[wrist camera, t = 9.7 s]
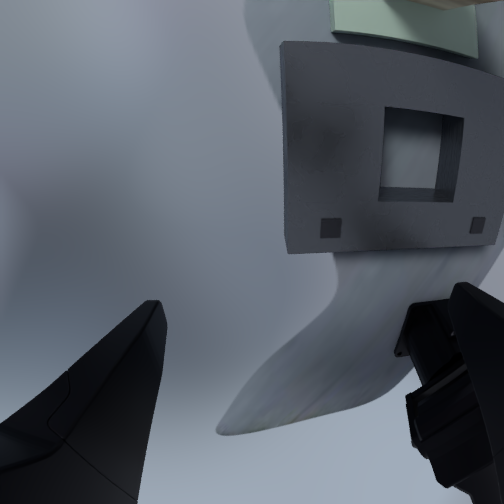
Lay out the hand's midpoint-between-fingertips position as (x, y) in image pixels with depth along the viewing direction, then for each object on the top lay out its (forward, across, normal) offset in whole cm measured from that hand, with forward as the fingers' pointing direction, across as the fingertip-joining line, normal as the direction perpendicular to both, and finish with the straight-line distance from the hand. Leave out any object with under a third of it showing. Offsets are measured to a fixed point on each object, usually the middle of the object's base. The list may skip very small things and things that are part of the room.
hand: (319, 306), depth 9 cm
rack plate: (+12, -8, -2) cm, 15 cm away
